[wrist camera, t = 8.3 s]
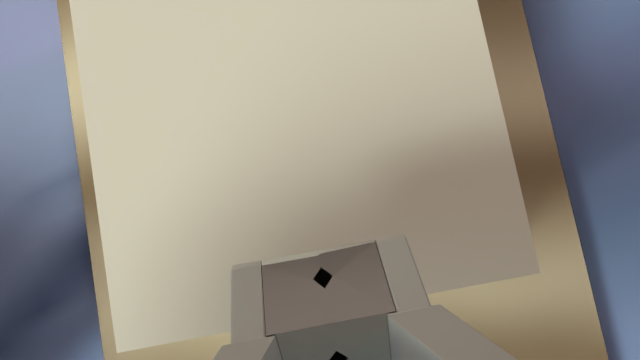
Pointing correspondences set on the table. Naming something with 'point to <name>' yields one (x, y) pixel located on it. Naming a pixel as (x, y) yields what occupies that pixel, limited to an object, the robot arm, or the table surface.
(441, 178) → the tile
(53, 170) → the table surface
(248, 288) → the robot arm
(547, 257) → the board
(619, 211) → the table surface
